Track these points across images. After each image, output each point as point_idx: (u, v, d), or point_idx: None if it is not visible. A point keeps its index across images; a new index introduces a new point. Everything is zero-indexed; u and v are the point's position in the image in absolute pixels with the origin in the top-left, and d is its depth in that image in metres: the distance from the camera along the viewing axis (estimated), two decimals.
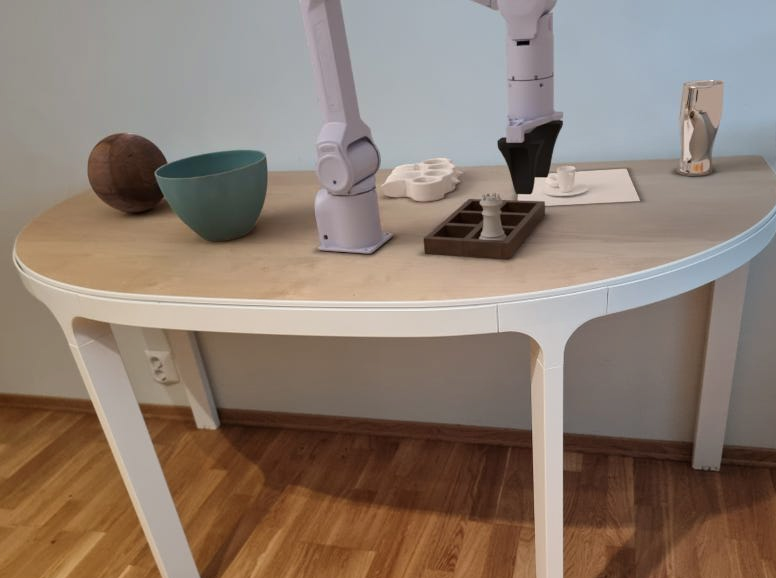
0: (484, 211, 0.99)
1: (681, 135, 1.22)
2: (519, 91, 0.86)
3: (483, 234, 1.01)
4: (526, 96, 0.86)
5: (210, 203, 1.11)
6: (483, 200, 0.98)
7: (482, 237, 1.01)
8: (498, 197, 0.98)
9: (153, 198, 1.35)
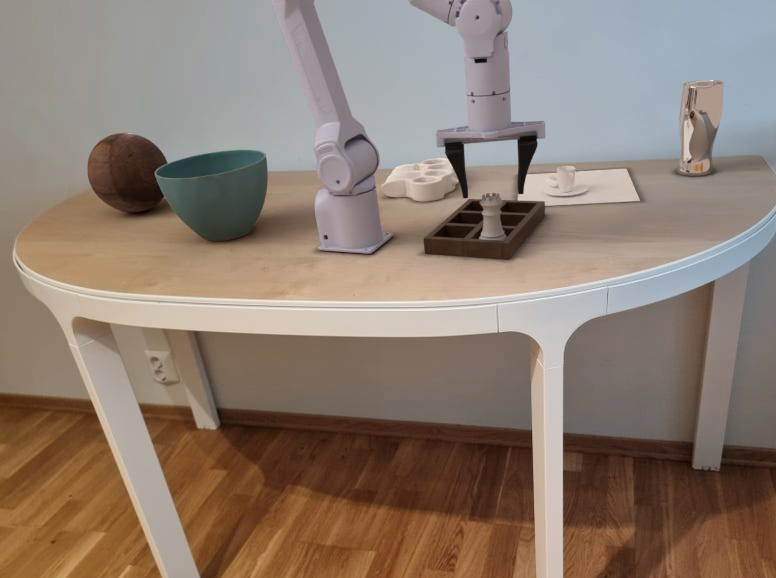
0: (484, 211, 0.99)
1: (681, 135, 1.22)
2: None
3: (483, 234, 1.01)
4: (467, 108, 0.92)
5: (210, 203, 1.11)
6: (483, 200, 0.98)
7: (482, 237, 1.01)
8: (498, 197, 0.98)
9: (153, 198, 1.35)
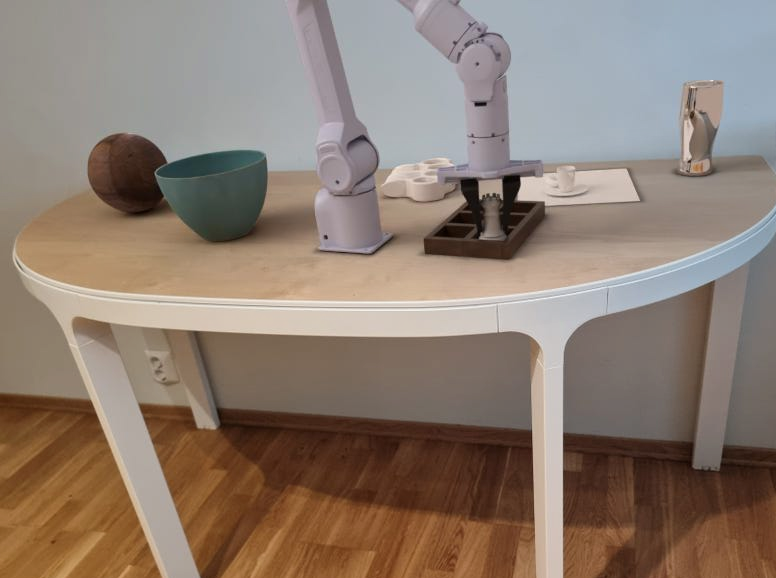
0: (484, 211, 0.99)
1: (681, 135, 1.22)
2: None
3: (483, 234, 1.01)
4: (467, 148, 0.95)
5: (210, 203, 1.11)
6: (483, 200, 0.98)
7: (482, 237, 1.01)
8: (498, 197, 0.98)
9: (153, 198, 1.35)
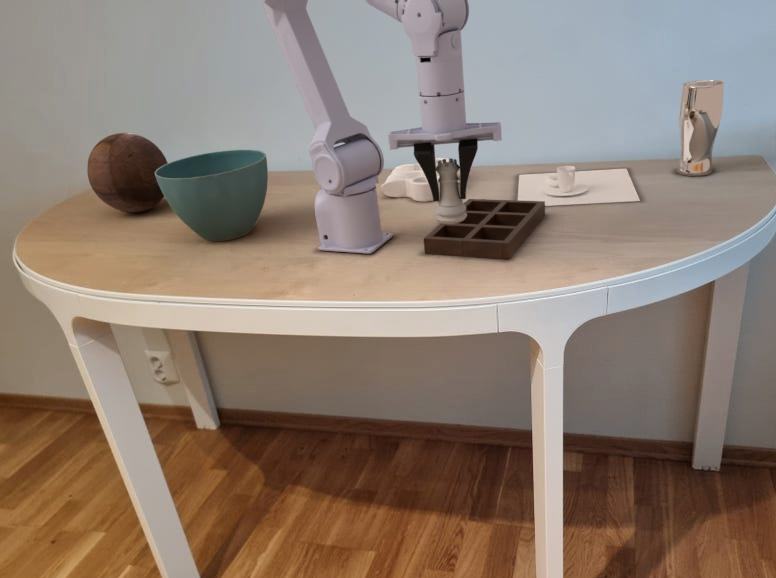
0: (440, 178, 0.93)
1: (681, 135, 1.22)
2: None
3: (440, 203, 0.94)
4: None
5: (210, 203, 1.11)
6: (439, 166, 0.92)
7: (439, 206, 0.95)
8: (455, 162, 0.92)
9: (153, 198, 1.35)
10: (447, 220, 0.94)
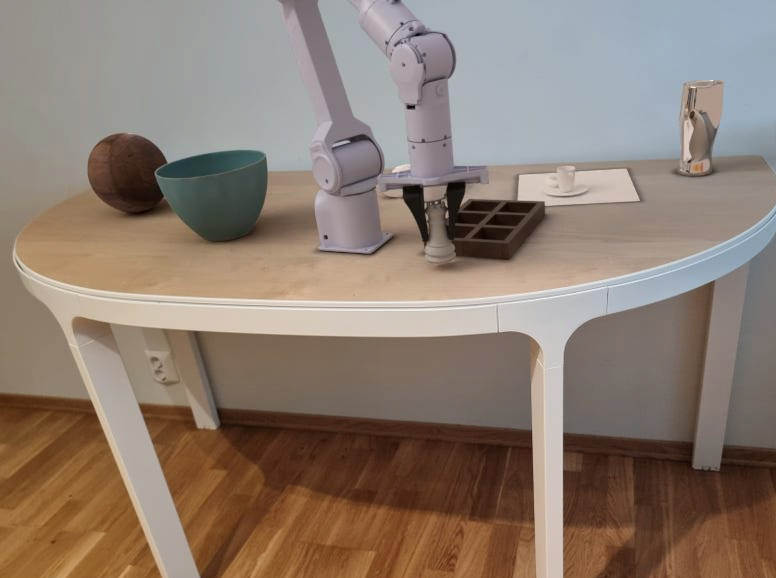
0: (429, 219, 0.94)
1: (681, 135, 1.22)
2: None
3: (429, 243, 0.96)
4: None
5: (210, 203, 1.11)
6: (427, 208, 0.93)
7: (428, 246, 0.96)
8: (443, 205, 0.93)
9: (153, 198, 1.35)
10: (436, 260, 0.96)
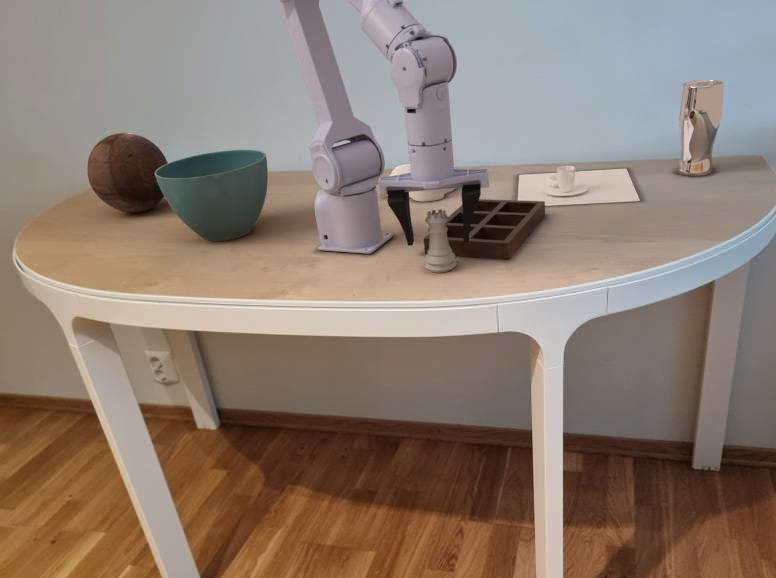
0: (430, 228, 0.95)
1: (681, 135, 1.22)
2: None
3: (429, 252, 0.96)
4: (409, 157, 0.91)
5: (210, 203, 1.11)
6: (428, 217, 0.94)
7: (428, 255, 0.97)
8: (444, 214, 0.94)
9: (153, 198, 1.35)
10: (437, 269, 0.96)
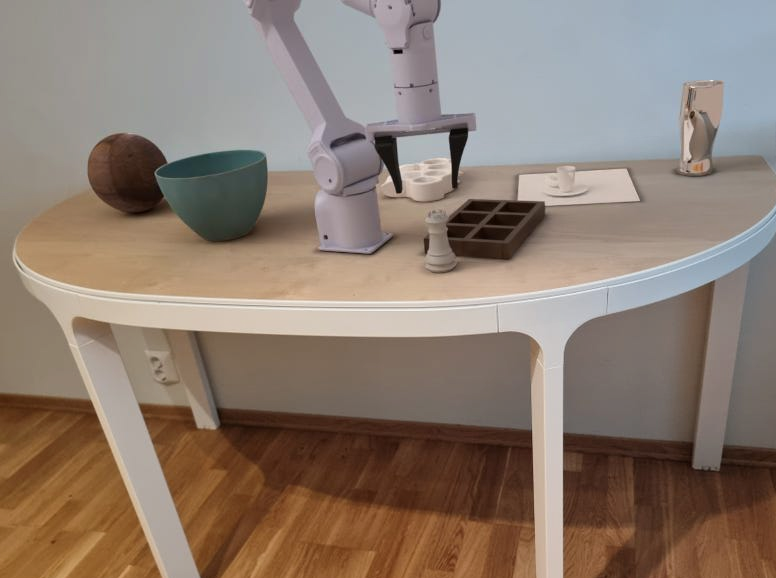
0: (430, 228, 0.95)
1: (681, 135, 1.22)
2: None
3: (429, 252, 0.96)
4: None
5: (210, 203, 1.11)
6: (428, 217, 0.94)
7: (428, 255, 0.97)
8: (444, 214, 0.94)
9: (153, 198, 1.35)
10: (437, 269, 0.96)
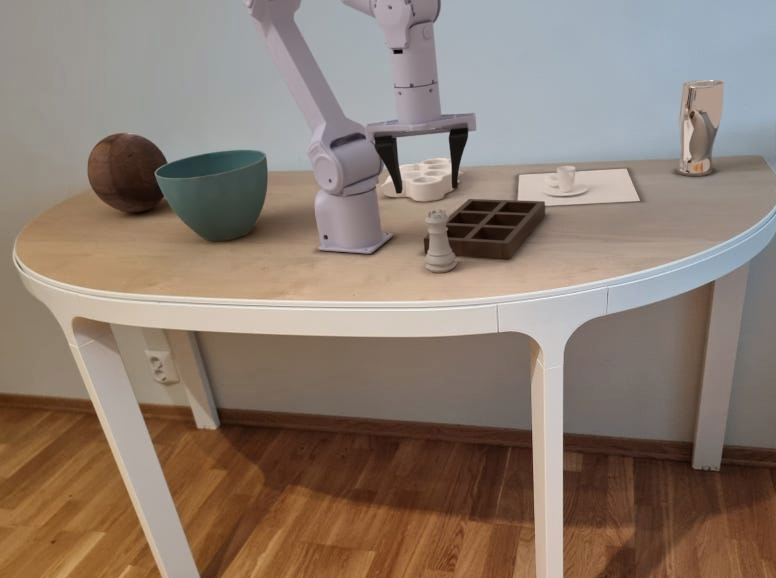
0: (430, 228, 0.95)
1: (681, 135, 1.22)
2: None
3: (429, 252, 0.96)
4: None
5: (210, 203, 1.11)
6: (428, 217, 0.94)
7: (428, 255, 0.97)
8: (444, 214, 0.94)
9: (153, 198, 1.35)
10: (437, 269, 0.96)
